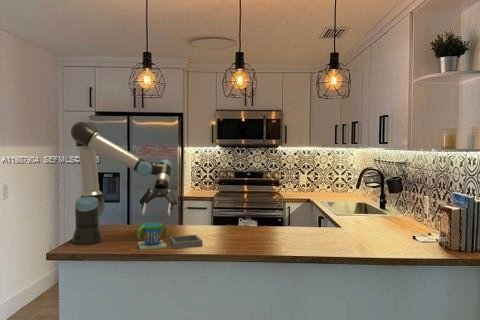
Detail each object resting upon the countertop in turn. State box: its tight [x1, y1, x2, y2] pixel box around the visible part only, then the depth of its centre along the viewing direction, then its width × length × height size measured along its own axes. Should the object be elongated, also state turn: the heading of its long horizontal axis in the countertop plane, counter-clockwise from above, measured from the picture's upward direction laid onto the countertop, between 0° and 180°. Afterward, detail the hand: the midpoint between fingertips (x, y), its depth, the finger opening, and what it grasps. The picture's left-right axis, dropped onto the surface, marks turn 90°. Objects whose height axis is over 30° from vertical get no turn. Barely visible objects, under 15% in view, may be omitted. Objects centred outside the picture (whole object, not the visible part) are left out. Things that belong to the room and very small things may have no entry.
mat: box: [137, 239, 167, 251], centre depth 211 cm, size 13×13×1 cm
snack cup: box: [136, 222, 168, 245], centre depth 211 cm, size 16×10×10 cm
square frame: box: [169, 234, 203, 250], centre depth 214 cm, size 14×14×3 cm
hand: (155, 214), depth 217 cm, fingers open, 13 cm apart
